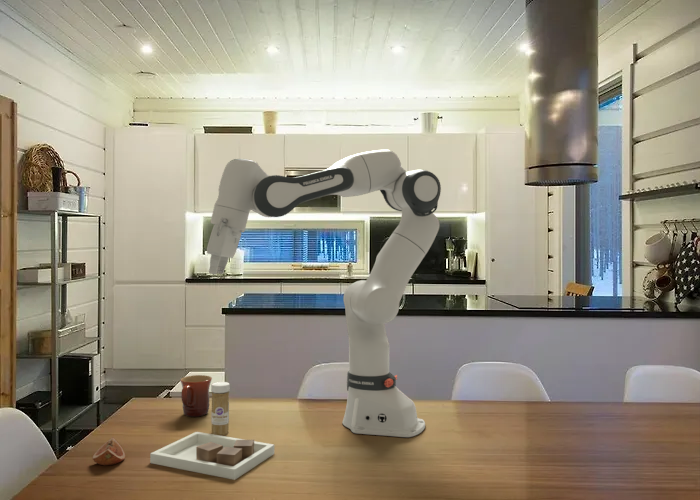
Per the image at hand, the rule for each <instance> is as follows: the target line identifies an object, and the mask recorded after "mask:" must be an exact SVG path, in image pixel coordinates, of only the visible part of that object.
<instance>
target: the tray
mask: <svg viewBox="0 0 700 500" xmlns="http://www.w3.org/2000/svg"><path fill="white" fill-rule="evenodd" d="M236 440H245V439H244V438H243V439H242V438H237V437H230V436H225V435H222V436H220V435H214V434H211V433H207V432H201V431H194V432H193V433H191V434H188V435H187V436H185V437H182V438H180V439H178V440H176V441H174V442H172V443H169V444H168V445H165V446H163V447H162V448H159V449H157V450H155V451H152V452H150V456H149V457H150V459H149V462H150V464H153V465H158V466H164V467H168V468H172V469H177V470H184V471H189V472H194V473H199V474H204V475H209V476H213V477H218V478H223V479H228V480H233V481H235V480H237V479H238V478H240V477H242V475H245V474H246V473H248V472H249V471H251V470H253V469H254V468H255V467H256V466H258V465H259V464H261V463H264V461H266V460H267V459H268V458H270V457H272V456H273V455H275V444H272V443H268V442H262V441H256V440H254V454H253V455H251V456H249V457H248V458H246V459H244V460H243V461H241V462H240V463H238V464H236V465H235V466H228V465H223V464H217V463H212V462H207V461H201V460H196V447H197V446H200V445H203V444H206V443H209V442H213V443H216V444H219V445H223V448H224V447H231V448H234V444H235V442H236Z"/></svg>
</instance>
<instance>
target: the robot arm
mask: <svg viewBox="0 0 700 500" xmlns="http://www.w3.org/2000/svg"><path fill="white" fill-rule="evenodd" d="M219 182H220V183H219V186H218V196H217V200H216V201H215V203H214V206H213V211H212V214H211V219H210V224H212V225H213V226H212V229H211V233H210V236H209V239H208V243H207V248H206V253H207V254H209V255H210V259H209V268H208V273H209V274H211V275H217V274H220V275H223V274H225V270H226V267H227V264H228V262H229V258H231V259H233V258H234V257H235V254H236V253H237V249H238V246H239V244H240V240H241V237H242V233H244V232H245V231H246V228H247V223H248V219H249V214H250V211H253V212H255V214H256V213H257V214H258V215H259V216H262V217H265V218H280V217H284V216H286V215H288V214H290V212H292V211H293V210H294V209H295V208H297V206H298V205H300V204H303V203H305V202H309V201H311V200H316V199H319V198H322V197H326V196H332V195H335V196H337V195H338V196H339V197H343V198H349V197H350V198H351V197H356V196H357V197H358V196H362V195H366V194H371V193H374V192H377V191H380V193H381V194H382V196H383V199H384V201H385V203H386V204H387V205H388V206H389V208H391V209H393V210H395V211H397V212H401V217H400V221H399V223H398V225H397V226H396V228H395V229H394V230H393V231H392V233H391V235H390V236H389V238H388V239H387V240H386V241H385V243H384V245H383V246H382V248H381V249H380V251H379V252H378V253H377V255H376V258H375V262H374V264H373V267H372V269H371V271H370V273H369V275H368V277H367V278H366V280H365V279H361V280H357V281H355V282H353V283H351V284H350V285H349V286H347V287H346V289H345V291H344V293H343V304H344V309H345V320H346V321H345V322H346V329H347V330H346V331H347V337H348V371H347V374H346V375H347V376H346V389H347V399H346V407H345V411H344V416H343V419H342V425H343V426H344V427H346V428H348V429H350V431H351V432H352V433H353V434H360V435H362V434H363V435H371V436H372V435H373V436H375V435H376V436H386V437H387V436H388V437H399V438H412V437H415V436H417V435H419V434H421V433H422V432H423V431H424V430H425V428H426V422H425V420H424V419H423V418H419V417H418V413H417V412H418V411H417V407H416V405H415V402H414V401H413V400H412V399H411V398H409V396H407V395H406V394H405V393H404V392H402V390H400V389H399V388H398V387H397V386H396V385H397V380H398V374H396V375H393V373H391V372H390V342H389V338H388V336H387V330H386V325H385V324H388V323H389V322H391V321H393V320H394V319H395V318H396V317H397V315H398V313H399V310H400V303H401V299H402V298H403V295H404V292H405V291H406V288H407V286H408V283H409V281H410V280H411V278H412V276H413V274H414V273H415V271H416V270H417V268H418V267H419V266H420V264H421V262H422V261H423V259H424V258H425V257H426V255H427V254H428V252H429V250H430V248H431V247H432V245H433V243H434V241H435V239H436V236H437V235H438V232H439V230H440V221H439V219H438V217H437V216H436V215H435V214H434V213H435V212H436V211H437V209H438V206H439V205H438V202H439V199H440V197H441V192H442V187H441V186H442V185H441V182H440V179H439V178H438V176H437V175H436V174H434V173H433V172H431V171H429V170H427V169H415V170H408V171H406V170H405V169H404V168H403V166H402V163H401V160H400V157H398V155H397V154H396V153H395V152H394V151H392V150H390V149H377V150H371V151H370V150H369V151H364V152H360V153H356V154H352V155H349V156H348V155H347V157H344V158H342V159H340V160H337V161H335V162H334V163H333V164H332V165H331V166H329V167H328V168H326V169H324V170H320V171H316V172H312V173H309V174H305V175H302V176H296V177H295V176H294V177H289V176H284V175H277V174H274V175H269V174H268V173H267V172H266V171H265V170H264V169H263V168H262V167H261V166H260V165H259V163H258V162H257V161H255V160H252V159H247V158H233V159H232V160H229V161H228V162H227V163H226V165H225V167H224V169H223V172H222V176H221V178H220V181H219Z"/></svg>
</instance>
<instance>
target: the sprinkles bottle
mask: <svg viewBox="0 0 700 500" xmlns="http://www.w3.org/2000/svg"><path fill="white" fill-rule="evenodd" d="M230 385H231V384H230V383H229V382H227V381H218V382H213V383H212V384H210V388H211V389H210V391H211V419H210V420H211V433H210V434H214V435H220V436H225V435H228V434H229V425H230V423H229V422H230V389H231V388H230Z"/></svg>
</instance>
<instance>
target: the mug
mask: <svg viewBox="0 0 700 500" xmlns="http://www.w3.org/2000/svg"><path fill="white" fill-rule="evenodd" d="M212 380H213V377H212V376H210V375H205V374H204V375H203V374H198V375H197V374H194V375H188V376H183V377H181V378H180V383H181V387H182V389H181V393H180V394H181V395H180V396H181V403H182V411H183V415H184V416H186V417H189V418H200V417H204V416H206V415H208V413H209V409H210V388H211V382H212Z"/></svg>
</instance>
